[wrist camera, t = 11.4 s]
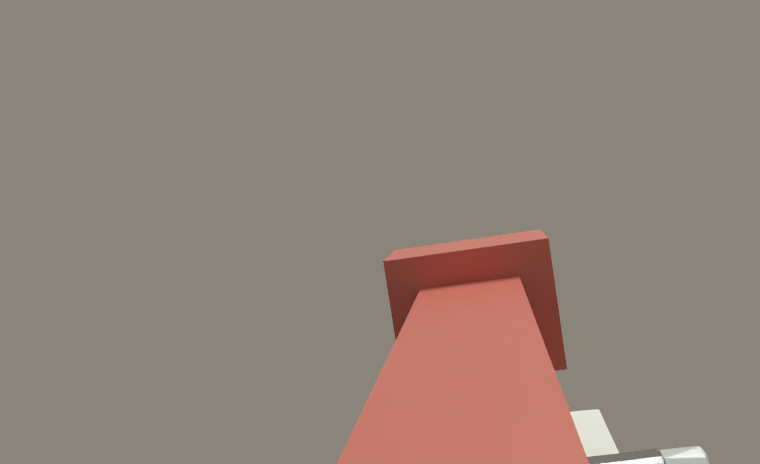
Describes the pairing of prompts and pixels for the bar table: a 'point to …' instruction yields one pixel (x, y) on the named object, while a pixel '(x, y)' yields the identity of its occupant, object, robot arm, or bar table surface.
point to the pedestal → (593, 433)
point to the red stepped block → (470, 360)
